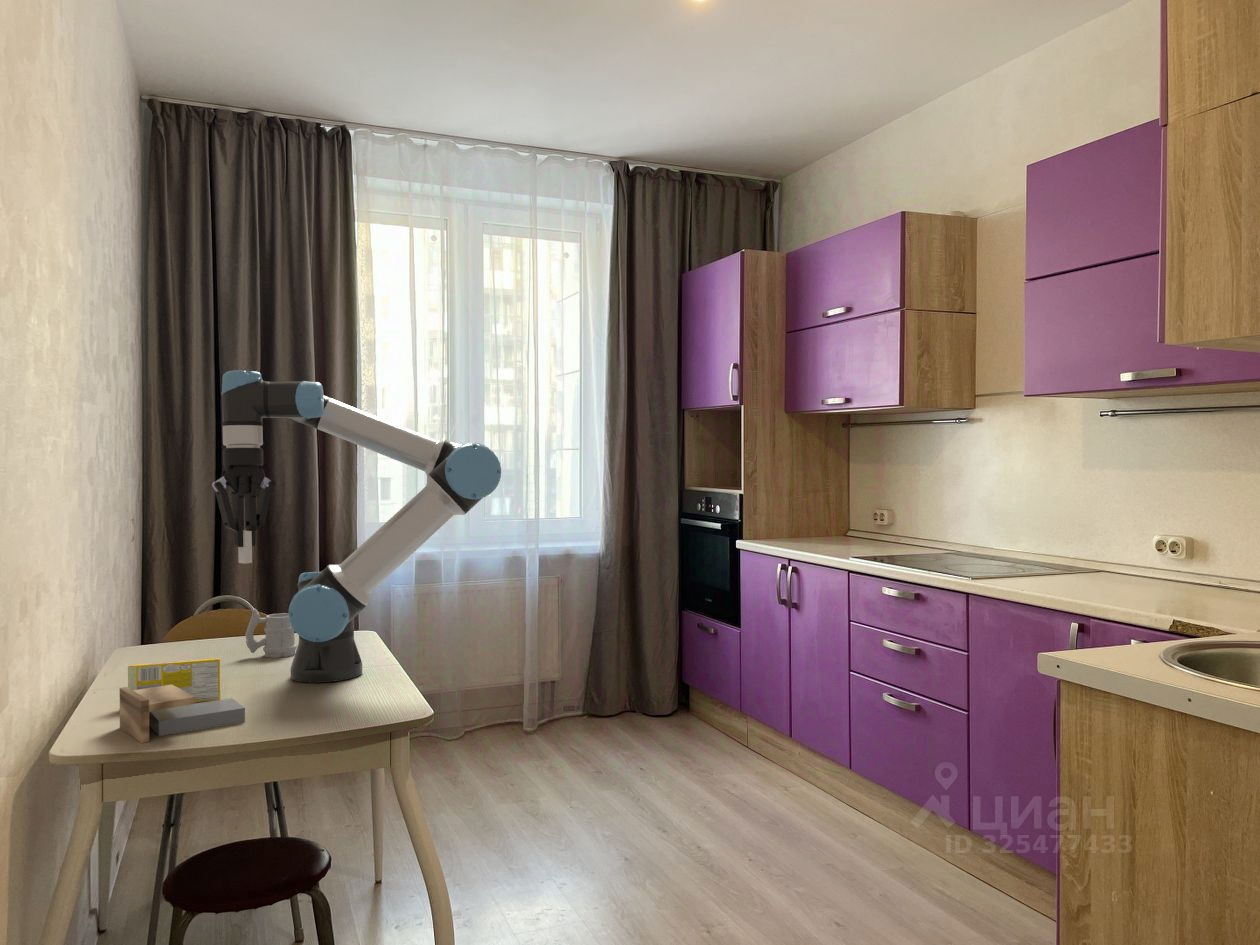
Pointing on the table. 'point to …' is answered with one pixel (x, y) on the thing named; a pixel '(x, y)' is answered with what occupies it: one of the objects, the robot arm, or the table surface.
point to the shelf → (148, 707)
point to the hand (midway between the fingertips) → (245, 562)
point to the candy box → (180, 677)
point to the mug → (272, 635)
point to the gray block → (196, 716)
